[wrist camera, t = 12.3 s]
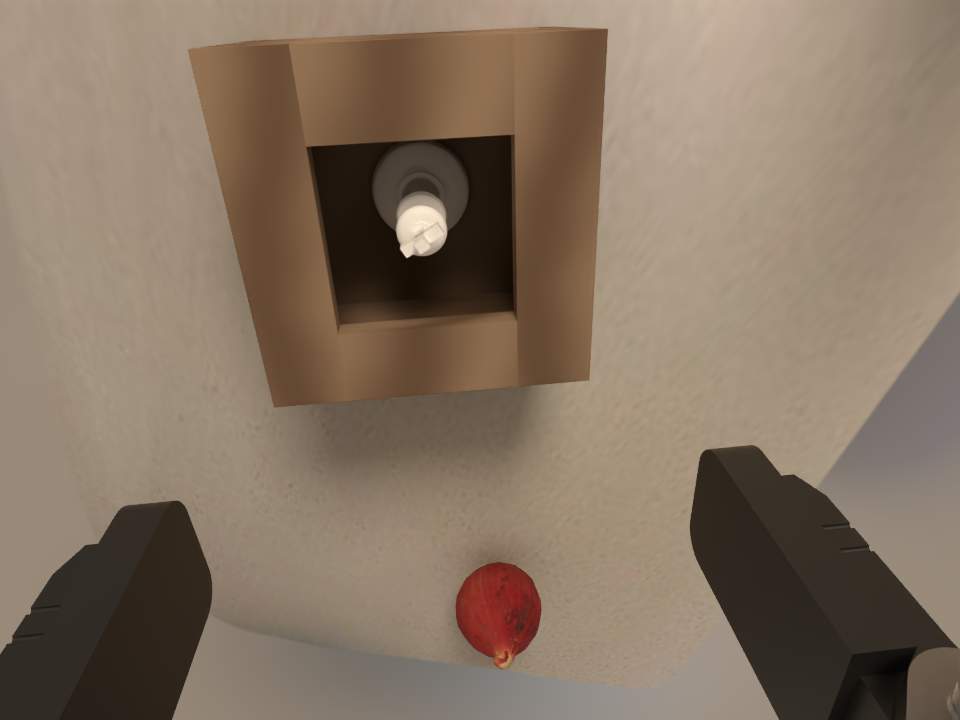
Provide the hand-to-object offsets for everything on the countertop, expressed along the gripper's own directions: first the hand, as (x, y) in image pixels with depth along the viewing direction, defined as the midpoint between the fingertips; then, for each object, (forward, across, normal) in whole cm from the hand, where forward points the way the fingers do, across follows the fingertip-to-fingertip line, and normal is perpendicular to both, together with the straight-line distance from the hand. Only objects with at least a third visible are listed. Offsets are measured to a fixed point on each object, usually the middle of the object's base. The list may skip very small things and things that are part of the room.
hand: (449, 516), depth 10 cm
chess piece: (+25, 0, +1) cm, 25 cm away
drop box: (+25, 0, +1) cm, 25 cm away
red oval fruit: (+25, -2, +29) cm, 38 cm away
